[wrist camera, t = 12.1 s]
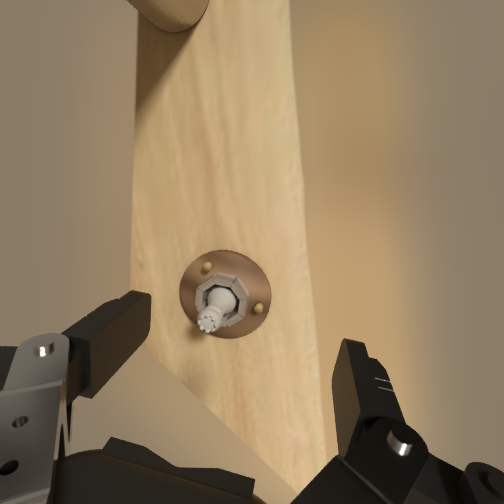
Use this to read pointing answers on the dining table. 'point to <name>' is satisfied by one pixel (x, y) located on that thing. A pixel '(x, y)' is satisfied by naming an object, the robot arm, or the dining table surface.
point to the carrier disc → (238, 279)
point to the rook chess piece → (216, 308)
